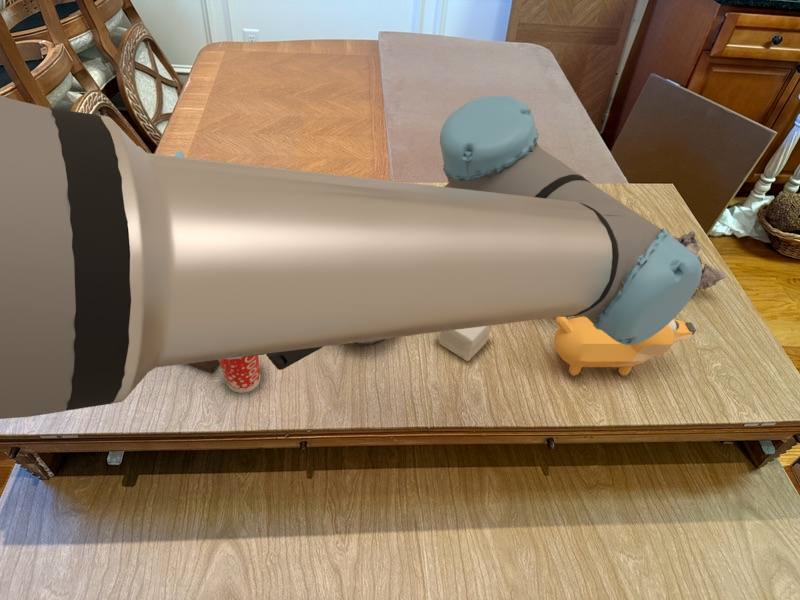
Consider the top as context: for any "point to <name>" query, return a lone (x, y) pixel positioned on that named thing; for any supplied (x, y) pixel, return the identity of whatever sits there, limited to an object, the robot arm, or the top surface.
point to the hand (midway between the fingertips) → (225, 295)
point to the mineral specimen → (708, 273)
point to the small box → (465, 340)
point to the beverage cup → (241, 373)
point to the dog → (611, 345)
